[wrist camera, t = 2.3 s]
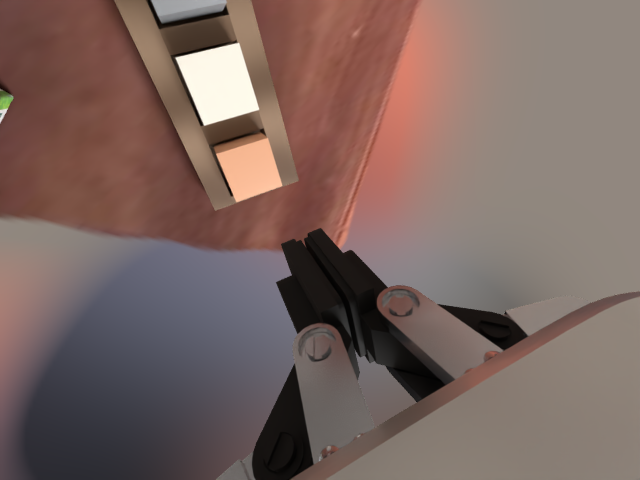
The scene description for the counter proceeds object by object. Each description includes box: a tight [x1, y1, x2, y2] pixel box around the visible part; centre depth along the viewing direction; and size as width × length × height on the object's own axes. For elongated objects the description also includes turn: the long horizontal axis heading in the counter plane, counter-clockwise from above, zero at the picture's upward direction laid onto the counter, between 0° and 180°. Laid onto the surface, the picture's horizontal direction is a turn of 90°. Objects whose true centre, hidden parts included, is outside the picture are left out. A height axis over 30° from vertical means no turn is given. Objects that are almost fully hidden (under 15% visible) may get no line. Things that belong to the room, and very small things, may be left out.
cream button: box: [176, 43, 259, 126], centre depth 20 cm, size 4×4×3 cm
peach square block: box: [213, 132, 282, 202], centre depth 23 cm, size 4×4×3 cm
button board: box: [114, 0, 299, 210], centre depth 21 cm, size 18×8×3 cm, turn 13°
